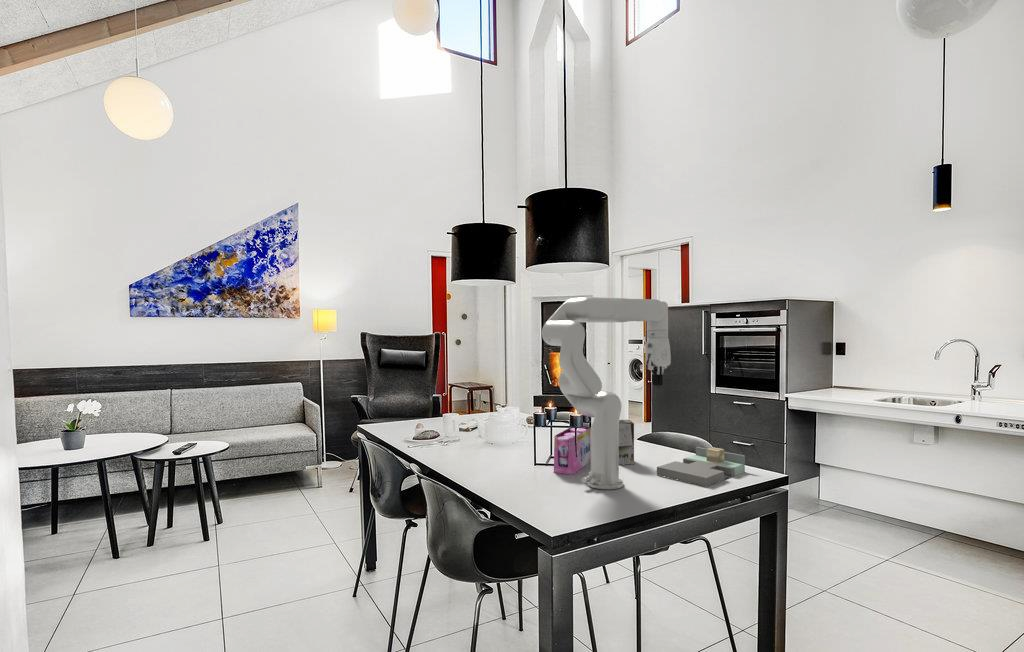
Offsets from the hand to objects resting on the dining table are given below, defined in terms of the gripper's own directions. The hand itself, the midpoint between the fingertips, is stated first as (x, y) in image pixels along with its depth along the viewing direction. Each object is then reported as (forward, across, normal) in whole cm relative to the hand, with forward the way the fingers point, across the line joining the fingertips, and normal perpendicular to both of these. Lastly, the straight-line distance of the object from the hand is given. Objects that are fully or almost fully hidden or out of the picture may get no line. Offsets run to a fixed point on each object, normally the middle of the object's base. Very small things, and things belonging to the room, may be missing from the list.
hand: (657, 385), depth 195 cm
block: (+29, +20, -12) cm, 37 cm away
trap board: (+32, +11, -11) cm, 36 cm away
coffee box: (+32, +4, +18) cm, 37 cm away
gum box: (+32, -16, +27) cm, 45 cm away
